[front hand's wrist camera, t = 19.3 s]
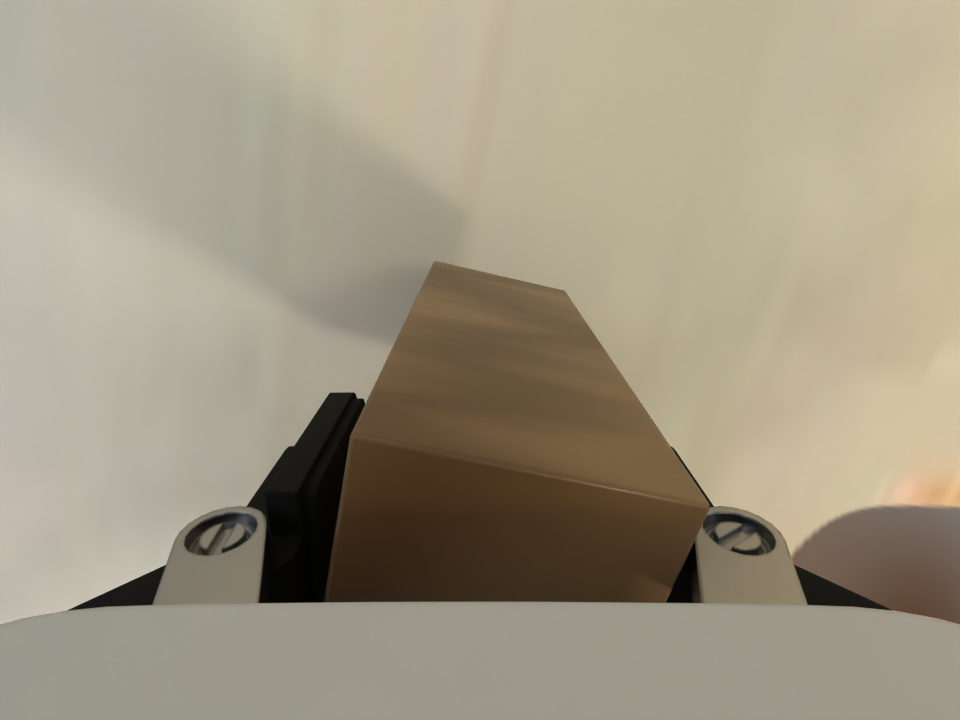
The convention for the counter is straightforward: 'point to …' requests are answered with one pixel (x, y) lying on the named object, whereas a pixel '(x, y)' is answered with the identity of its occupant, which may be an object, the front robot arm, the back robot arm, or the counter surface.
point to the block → (507, 462)
